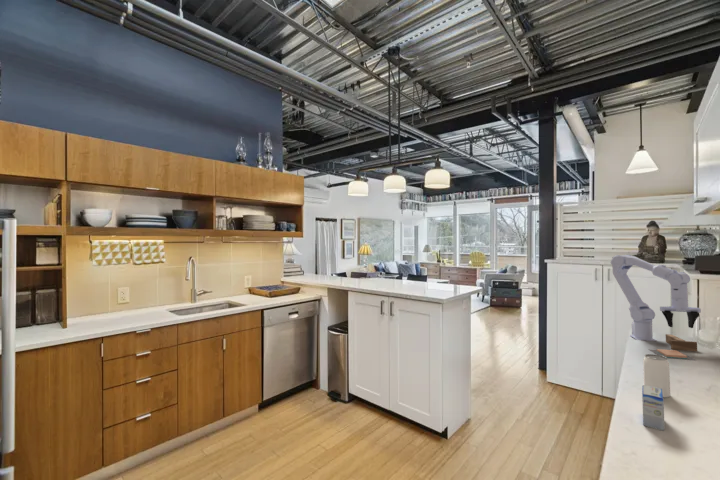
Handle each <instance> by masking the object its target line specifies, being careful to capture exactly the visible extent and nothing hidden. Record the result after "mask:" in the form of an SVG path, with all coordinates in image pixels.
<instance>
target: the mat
mask: <svg viewBox="0 0 720 480" xmlns="http://www.w3.org/2000/svg"><path fill="white" fill-rule="evenodd" d="M648 351H650V352H652V353H654V355H659V356H663V355H661V354H660V353H658V352H657V349H651V348H649V349H648ZM677 351H678V352H680V353H682V354H684V355H686V356H687V359H682V358H668V357H666V358H667V359H668V360H669V359H671V360H684V361H685V360H687V361H696V358H693V357H691V356H689V355H687V354H685V353H684V352H682V351H681V350H677ZM663 357H665V356H663Z"/></svg>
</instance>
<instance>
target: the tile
mask: <svg viewBox="0 0 720 480" xmlns="http://www.w3.org/2000/svg"><path fill="white" fill-rule="evenodd" d="M656 350H657V352H658V353H660V354H661V355H663V356H665V357H668V358H667V359H669V358H682V359H681V360H683V359H687V356H688V355H687V354H685V353H683V352H681V351H680V352H681V353H680V352H678V351H679V350H672V349H661V348H656ZM682 353H683V354H682ZM684 354H685V355H684ZM686 355H687V356H686Z"/></svg>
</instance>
